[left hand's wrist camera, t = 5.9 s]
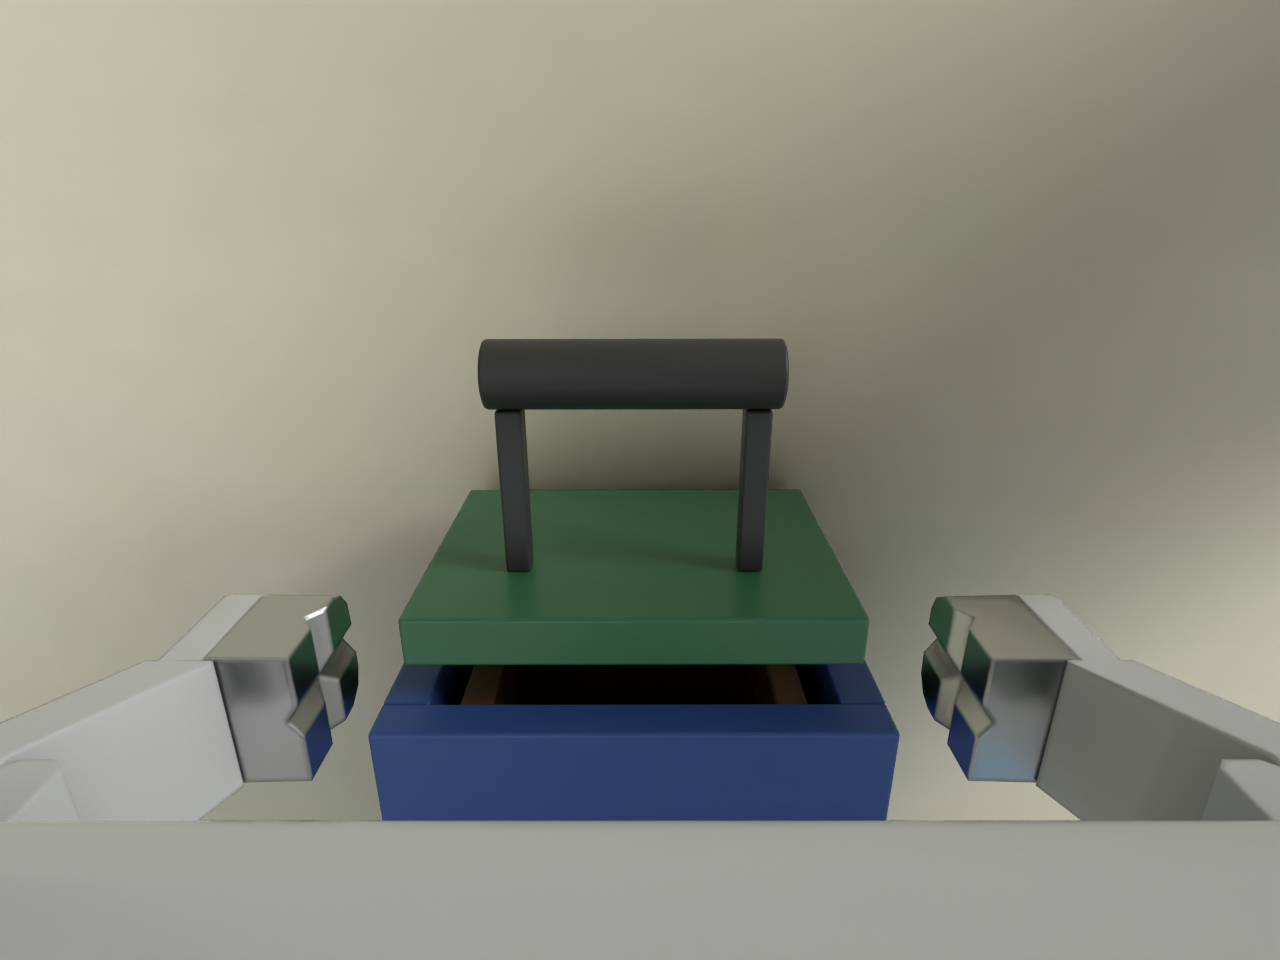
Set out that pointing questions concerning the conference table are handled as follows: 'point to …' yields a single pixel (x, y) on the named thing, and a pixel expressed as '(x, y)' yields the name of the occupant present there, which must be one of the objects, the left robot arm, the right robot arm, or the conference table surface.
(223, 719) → the left robot arm
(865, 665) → the blue block
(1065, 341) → the conference table surface
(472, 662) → the drawer
